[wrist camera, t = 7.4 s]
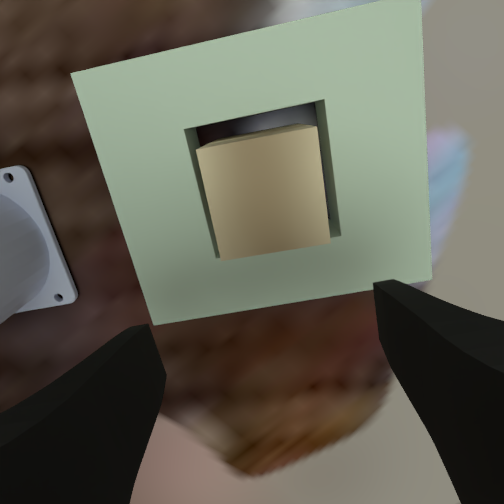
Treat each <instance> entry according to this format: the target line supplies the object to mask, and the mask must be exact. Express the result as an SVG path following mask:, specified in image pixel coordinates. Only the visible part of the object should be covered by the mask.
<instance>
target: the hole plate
mask: <svg viewBox="0 0 504 504" xmlns="http://www.w3.org/2000/svg"><path fill="white" fill-rule="evenodd" d="M70 74H71V77H72V80H73V83H74V86H75V89H76V92H77V95H78V98H79V101H80V104H81V107H82V110H83V113H84V116H85V119H86V122H87V125H88V128H89V131H90V134H91V137H92V140H93V143H94V146H95V149H96V152H97V155H98V158H99V161H100V164H101V167H102V170H103V173H104V177H105V180H106V183H107V186H108V189H109V192H110V195H111V198H112V201H113V204H114V207H115V210H116V213H117V216H118V219H119V222H120V225H121V228H122V231H123V234H124V237H125V240H126V243H127V246H128V249H129V252H130V255H131V258H132V261H133V264H134V267H135V270H136V273H137V276H138V279H139V282H140V285H141V288H142V291H143V295H144V298H145V301H146V304H147V307H148V310H149V313H150V316H151V319H152V322H153V325H160V324H166V323H172V322H178V321H184V320H190V319H196V318H203V317H209V316H215V315H221V314H227V313H233V312H239V311H245V310H251V309H257V308H263V307H269V306H275V305H281V304H287V303H293V302H300V301H306V300H312V299H318V298H324V297H330V296H336V295H342V294H348V293H354V292H360V291H366V290H372V289H373V283H374V282H379V281H384V280H390V279H395V280H397V281H400V282H402V283H405V284H409V283H415V282H421V281H427V280H432V263H431V238H430V213H429V188H428V163H427V138H426V114H425V90H424V63H423V38H422V13H421V0H381V1H377V2H372V3H368V4H364V5H360V6H355V7H351V8H347V9H343V10H338V11H334V12H330V13H326V14H321V15H317V16H313V17H309V18H304V19H300V20H296V21H292V22H287V23H283V24H279V25H275V26H270V27H266V28H262V29H258V30H253V31H249V32H245V33H240V34H236V35H232V36H228V37H223V38H219V39H215V40H211V41H206V42H202V43H198V44H194V45H189V46H185V47H181V48H177V49H172V50H168V51H164V52H160V53H155V54H151V55H147V56H143V57H138V58H134V59H130V60H126V61H121V62H117V63H113V64H109V65H104V66H100V67H96V68H91V69H87V70H83V71H79V72H74V73H70ZM312 102H315V108H316V115H317V123H318V130H319V138H320V145H321V153H322V160H323V168H324V175H325V183H326V190H327V198H328V205H329V213H330V220H328V223H329V232H330V240H331V243H330V244H323V245H317V246H311V247H305V248H299V249H293V250H287V251H280V252H274V253H268V254H262V255H256V256H250V257H244V258H237V259H231V260H225V261H221V258H220V254H219V250H218V245H217V241H216V236H215V232H214V228H213V223H212V219H211V214H210V210H209V206H208V201H207V197H206V192H205V188H204V183H203V179H202V175H201V170H200V166H199V161H198V157H197V153H196V149H198V148H200V144H199V140H198V135H197V131H196V127H200V126H204V125H209V124H214V123H218V122H223V121H228V120H233V119H237V118H242V117H247V116H251V115H256V114H261V113H265V112H270V111H275V110H279V109H284V108H289V107H293V106H298V105H303V104H307V103H312Z"/></svg>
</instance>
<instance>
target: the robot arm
mask: <svg viewBox="0 0 504 504" xmlns="http://www.w3.org/2000/svg"><path fill="white" fill-rule="evenodd" d="M9 173H10V174H12V176H13V178H14V180H13V181H11V180H10V179H9V177H8V174H9ZM373 290H374V299H375V307H376V315H377V324H378V332H379V340H380V342H381V345H382V347H383V350H384V352H385V355H386V357H387V359H388V362H389V364H390V367H391V368H392V370H393V372H394V374H395V375H396V377H397V379H398V381H399V382H400V384H401V386H402V388H403V389H404V391H405V393H406V394H407V396H408V398H409V400H410V401H411V403H412V405H413V406H414V408H415V410H416V412H417V413H418V415H419V417H420V419H421V420H422V422H423V424H424V425H425V427H426V429H427V431H428V433H429V434H430V436H431V438H432V440H433V442H434V444H435V446H436V448H437V450H438V453H439V455H440V457H441V459H442V461H443V464H444V466H445V468H446V470H447V472H448V475H449V477H450V479H451V481H452V484H453V486H454V488H455V490H456V493H457V495H458V497H459V500H460V502H461V504H504V321H501V320H498V319H494V318H491V317H487V316H484V315H481V314H478V313H475V312H472V311H470V310H467V309H464V308H461V307H458V306H456V305H453V304H450V303H448V302H446V301H443V300H441V299H438V298H436V297H433V296H431V295H429V294H427V293H425V292H422V291H420V290H418V289H416V288H414V287H411V286H409V285H407V284H405V283H402V282H400V281H397V280H395V279H390V280H384V281H379V282H374V283H373ZM58 294H61V295H62V296H63V299H61V298H60V297H59V296H58ZM77 297H78V292H77V289H76V287H75V284H74V282H73V279H72V277H71V274H70V272H69V269H68V267H67V264H66V262H65V259H64V257H63V254H62V251H61V249H60V246H59V244H58V241H57V239H56V236H55V234H54V231H53V229H52V226H51V224H50V221H49V219H48V216H47V214H46V211H45V209H44V206H43V203H42V201H41V198H40V196H39V193H38V191H37V188H36V186H35V183H34V181H33V178H32V176H31V173H30V171H29V170H28V169H27V168H26V167H24V166H22V165H17V166H12V167H7V168H3V169H0V324H1V323H2V322H4V321H5V320H6V319H8V318H9V317H10V316H11V315H13V314H14V313H18V312H24V311H30V310H36V309H41V308H47V307H53V306H59V305H64V304H70V303H73V302H74V301H75V300H76V299H77ZM166 376H167V375H166V372H165V369H164V366H163V363H162V361H161V358H160V355H159V352H158V349H157V347H156V344H155V341H154V338H153V335H152V333H151V330H150V327H149V324H144V325H138V326H133V327H130V328H128V329H126V330H124V331H123V332H121V333H120V334H118V335H117V336H115V337H114V338H113V339H111V340H110V341H108V342H107V343H106V344H104V345H103V346H102V347H100V348H99V349H98V350H96V351H95V352H94V353H92V354H91V355H90V356H88V357H87V358H86V359H84V360H83V361H82V362H80V363H79V364H78V365H76V366H75V367H73V368H72V369H71V370H69V371H68V372H66V373H65V374H63V375H62V376H61V377H59V378H58V379H56V380H55V381H54V382H52V383H51V384H49V385H48V386H46V387H44V388H43V389H41V390H40V391H38V392H37V393H35V394H33V395H32V396H30V397H28V398H27V399H25V400H23V401H22V402H20V403H18V404H17V405H15V406H13V407H12V408H10V409H8V410H6V411H4V412H2V413H0V504H129V503H130V499H131V495H132V491H133V487H134V483H135V480H136V477H137V473H138V470H139V467H140V464H141V462H142V458H143V456H144V453H145V450H146V447H147V444H148V441H149V438H150V436H151V433H152V430H153V427H154V424H155V421H156V418H157V415H158V413H159V409H160V406H161V403H162V398H163V394H164V388H165V382H166Z"/></svg>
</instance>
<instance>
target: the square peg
mask: <svg viewBox="0 0 504 504" xmlns="http://www.w3.org/2000/svg"><path fill="white" fill-rule="evenodd" d="M196 153H197V157H198V161H199V166H200V170H201V175H202V179H203V183H204V188H205V192H206V197H207V201H208V206H209V210H210V214H211V219H212V223H213V228H214V232H215V236H216V241H217V245H218V250H219V254H220V258H221V261H225V260H231V259H237V258H244V257H250V256H256V255H262V254H268V253H274V252H280V251H287V250H293V249H299V248H305V247H311V246H317V245H323V244H330V243H331V240H330V232H329V223H328V215H327V206H326V198H325V189H324V181H323V173H322V164H321V156H320V147H319V139H318V130H317V126H311V125H304V124H293V125H287V126H282V127H277V128H272V129H267V130H261V131H256V132H251V133H246V134H241V135H235V136H230V137H225V138H220V139H217V140H215V141H213V142H211V143H209V144H207V145H205V146H202V147H200V148H198V149H196Z"/></svg>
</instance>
